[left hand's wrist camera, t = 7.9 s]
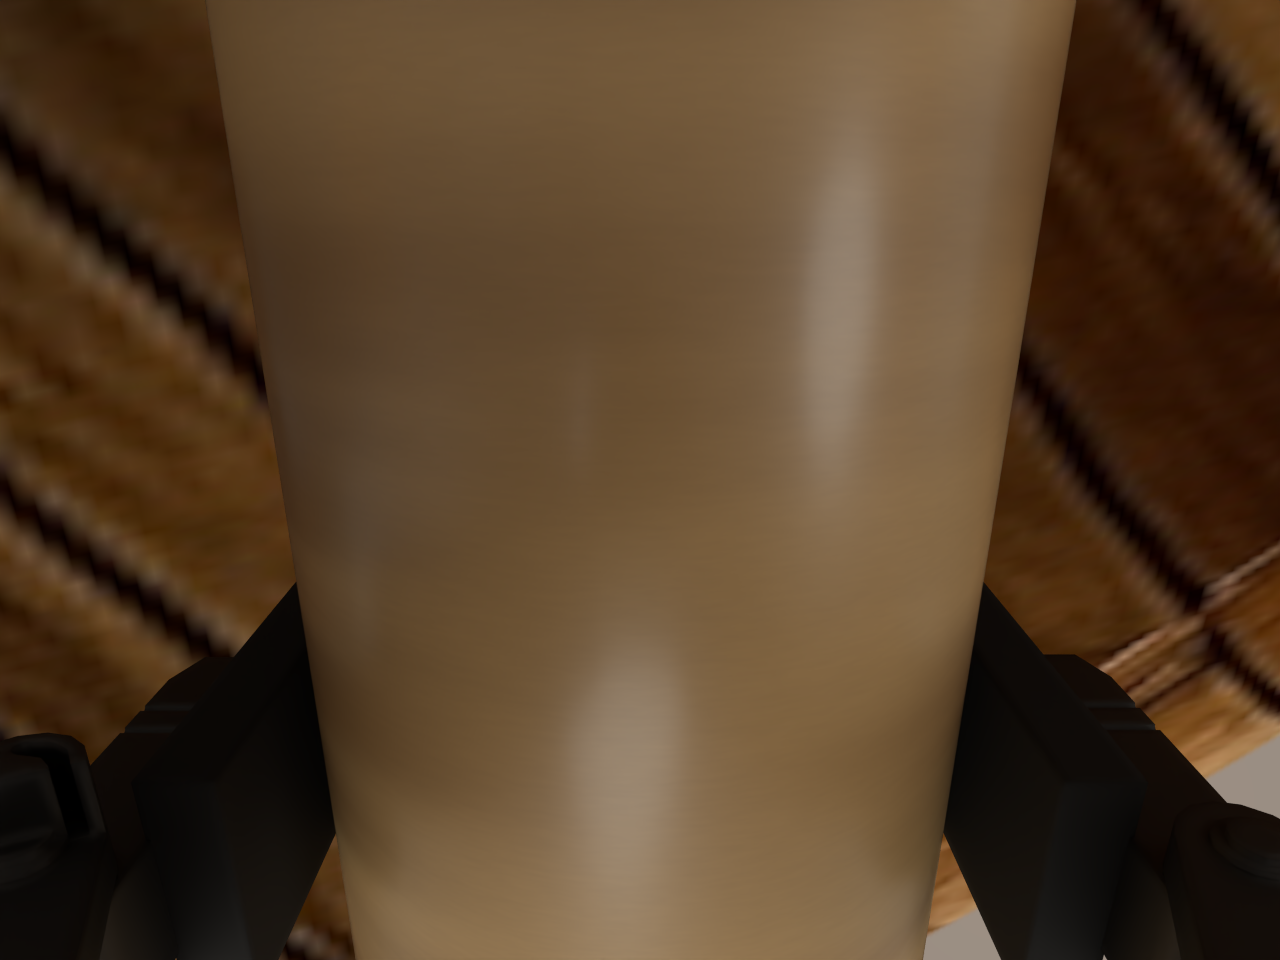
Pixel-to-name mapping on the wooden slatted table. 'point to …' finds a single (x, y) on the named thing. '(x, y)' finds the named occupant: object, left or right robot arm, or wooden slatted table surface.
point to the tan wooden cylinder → (640, 446)
